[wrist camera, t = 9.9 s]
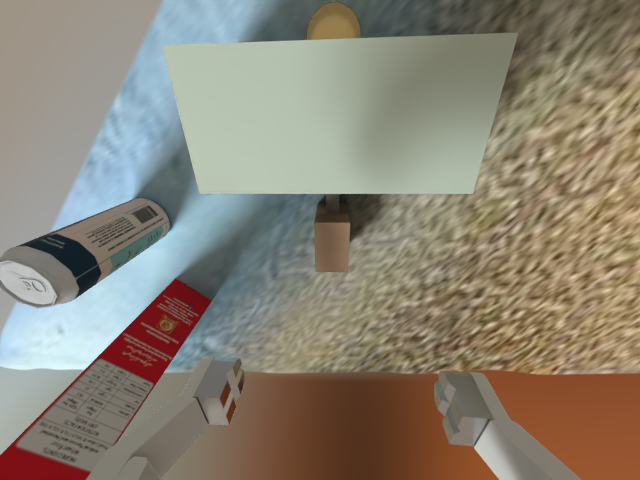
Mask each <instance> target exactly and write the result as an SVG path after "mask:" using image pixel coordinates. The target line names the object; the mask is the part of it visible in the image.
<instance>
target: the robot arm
mask: <svg viewBox="0 0 640 480" xmlns="http://www.w3.org/2000/svg"><path fill="white" fill-rule="evenodd" d="M241 364H242V363H241V360H240V358H226V357H214V356H204V357H203V358H202V359H201V360H200V361H199V363H198V365H197V366H196V368H195V370H194V371H193V373H192V375H191V377H190V378H189V380H188V382H187V383H186V385H185V387H184V389H183V391H182V392H181V394H180V396H175V397H174V398H172V399H171V400H170V401H169V402H168V403H166V404H165V405H164V406H162V407H161V408H160V409H159V410H157V411H156V412H155V413H154V414H152V415H151V416H150V417H149V418H147V419H146V420H145V421H144V422H142V423H141V424H140V425H139V426H138V427H136V428H135V429H134V430H132V431H131V432H130V433H129V434H127V435H126V436H125V437H124V438H122V439H121V440H120V441H119V442H117V443H116V444H115V445H114V446H112V447H111V448H110V449H109V450H107V451H106V452H105V453H104V455H103V456H102V458H101V459H100V460H99V462H98V463H97V465H96V466H95V468H94V469H93V470H92V472H91V473H90V475H89V476H88V477H87V479H86V480H163V479H162V477H163V476H164V475H165V473H166V472H167V471H168V470H169V469H170V468H171V467H172V466H173V464H174V463H175V462H176V461H177V460H178V459H179V458H180V457H181V455H182V454H183V453H184V452H185V451H186V450H187V449H188V448H189V447H190V446H191V444H192V443H193V442H194V441H195V440H196V439H197V438H198V437H199V435H200V434H201V433H202V432H203V431H204V430H205V429H206V428H207V427H208V424H219V425H230V422H231V419H232V417H233V414H234V411H235V408H236V404H235V399H237V398H238V396H240V394H241V391H242V388H243V384H244V370H242V369H241V368H240V367H241ZM438 377H439V380H440V381H438V382H436V383H435V387H434V396H435V401H436V405H437V408H438V410H439V411H440V412H441V413H442V414H443V415H444V420H443V422H442V423H443V426H444V429H445V432H446V435H447V438H448V440H449V443H450V444H456V445H465V446H474V449H475V450H476V451H477V452H478V454H479V455H480V456H481V457H482V458H483V460H484V461H485V462H486V463H487V465H488V466H489V467H490V468H491V470H492V471H493V472H494V473H495V474H496V476H497V477H498V478H499V480H581V479H580V478H579V477H578V476H577V475H575V474H574V473H573V472H572V471H571V470H570V469H569V468H567V467H566V466H565V465H564V464H563V463H562V462H561V461H559V460H558V459H557V458H556V457H555V456H554V455H552V453H550V452H549V451H548V450H547V449H546V448H545V447H543V446H542V445H541V444H540V443H539V442H538V441H537V440H536V439H534V438H533V437H532V436H531V435H530V434H529V433H528V432H526V431H525V430H524V429H523V428H522V427H521V426H520V425H519V424H517V423H516V422H513V421H511V420H510V418H509V417H508V415H507V413H506V411H505V410H504V408H503V406H502V404H501V403H500V401H499V399H498V398H497V396H496V394H495V392H494V390H493V389H492V387H491V385H490V383H489V381H488V380H487V378H486V376H485V375H484V374H482V373H474V372H460V371H440V372H439V375H438Z"/></svg>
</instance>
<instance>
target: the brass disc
mask: <svg viewBox="0 0 640 480" xmlns="http://www.w3.org/2000/svg"><path fill="white" fill-rule="evenodd" d="M350 38H361V31H360V25H359V22H358V19H357V17H356V15H355V14H354V12H353V11H352V10H351V9H350V8H349V7H348V6H346V5H344V4H342V3H338V2H332V3H328V4H325V5H323V6H322V7H320V8H319V9H318V10H317V11H316V12H315V13H314V15H313V16H312V18H311V20H310V23H309V25H308V29H307V40H322V39H350Z"/></svg>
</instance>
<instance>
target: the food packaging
mask: <svg viewBox="0 0 640 480" xmlns="http://www.w3.org/2000/svg"><path fill="white" fill-rule="evenodd" d="M210 303H211V300H209V299H208V298H206V297H204V296H203V295H201V294H200V293H198V292H196V291H195V290H193V289H192V288H190V287H188V286H187V285H185V284H183V283H182V282H180V281H179V280H177V279H174V280H173V282H172V283H171V284H170V285H169V286H168V287H167V288H166V289H165V290H164V291H163V292H162V293H161V294H160V295H159V296H158V297H157V298H156V299H155V300H154V301H153V302H152V303H151V304H150V305H149V306H148V307H147V308H146V309H145V310H144V311H143V312H142V313H141V314H140V315H139V316H138V317H137V318H136V319H135V320H134V321H133V322H132V323H131V324H130V325H129V326H128V327H127V328H126V329H125V330H124V331H123V332H122V333H121V334H120V335H119V336H118V337H117V338H116V339H115V340H114V341H113V342H112V343H111V344H110V345H109V346H108V347H107V348H106V349H105V350H104V351H103V352H102V353H101V354H100V355H99V356H98V357H97V358H96V359H95V360H94V361H93V362H92V363H91V364H90V365H89V366H88V367H87V368H86V369H85V370H84V371H83V372H82V373H81V374H80V375H79V376H78V377H77V378H76V379H75V381H73V383H71V385H69V387H68V388H67V389H66V390H65V391H64V392H63V393H62V394H61V395H60V396H59V397H58V398H57V399H56V400H55V401H54V402H53V403H52V404H51V405H50V406H49V407H48V408H47V409H46V410H45V411H44V412H43V413H42V414H41V415H40V416H39V417H38V418H37V419H36V420H35V421H34V422H33V423H32V424H31V425H30V426H29V427H28V428H27V429H26V430H25V431H24V432H23V433H22V434H21V435H20V436H19V437H18V438H17V439H16V440H15V441H14V442H13V443H12V444H11V445H10V446H9V447H8V448H7V449H6V450H5V451H4V452H3V453H2V454H1V455H0V480H86V479H87V477H88V476H89V475H90V473H91V472H92V470H93V469H94V468H95V466H96V465H97V463H98V462H99V460H100V459H101V458H102V456H103V455H104V453H105V452H106V451H107V450H109V449H110V448H111V447H112V446H114V445H115V444H116V443H117V441H118V440H119V438H120V437H121V435H122V434H123V432H124V431H125V429H126V428H127V426H128V425H129V423H130V422H131V420H132V419H133V417H134V416H135V415H136V413H137V412H138V410H139V409H140V407H141V406H142V404H143V402H144V401H145V400H146V398H147V397H148V395H149V393H150V392H151V391H152V389H153V388H154V386H155V385H156V383H157V382H158V380H159V379H160V377H161V376H162V374H163V373H164V371H165V370H166V368H167V367H168V365H169V364H170V362H171V361H172V359H173V358H174V356H175V355H176V353H177V352H178V350H179V349H180V347H181V346H182V344H183V343H184V341H185V340H186V339H187V337H188V336H189V334H190V333H191V331H192V330H193V328H194V327H195V325H196V324H197V322H198V321H199V319H200V318H201V316H202V315H203V313H204V312H205V310H206V309H207V307H208V306H209V304H210Z"/></svg>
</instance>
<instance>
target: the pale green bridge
mask: <svg viewBox="0 0 640 480" xmlns="http://www.w3.org/2000/svg"><path fill="white" fill-rule="evenodd" d="M518 33H519V32H515V33H488V34H460V35H432V36H405V37H377V38H350V39H322V40H294V41H267V42H239V43H212V44H184V45H162V49H163V52H164V56H165V60H166V64H167V68H168V72H169V76H170V80H171V84H172V88H173V92H174V96H175V100H176V103H177V107H178V111H179V115H180V119H181V123H182V127H183V131H184V135H185V139H186V143H187V147H188V151H189V155H190V158H191V162H192V166H193V170H194V174H195V178H196V182H197V186H198V190H199V194H473V191H474V187H475V184H476V180H477V177H478V173H479V170H480V166H481V163H482V159H483V156H484V152H485V149H486V145H487V142H488V138H489V135H490V131H491V128H492V124H493V121H494V117H495V114H496V110H497V107H498V103H499V100H500V96H501V93H502V89H503V86H504V82H505V79H506V75H507V72H508V68H509V65H510V61H511V58H512V54H513V51H514V47H515V44H516V40H517V37H518Z"/></svg>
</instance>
